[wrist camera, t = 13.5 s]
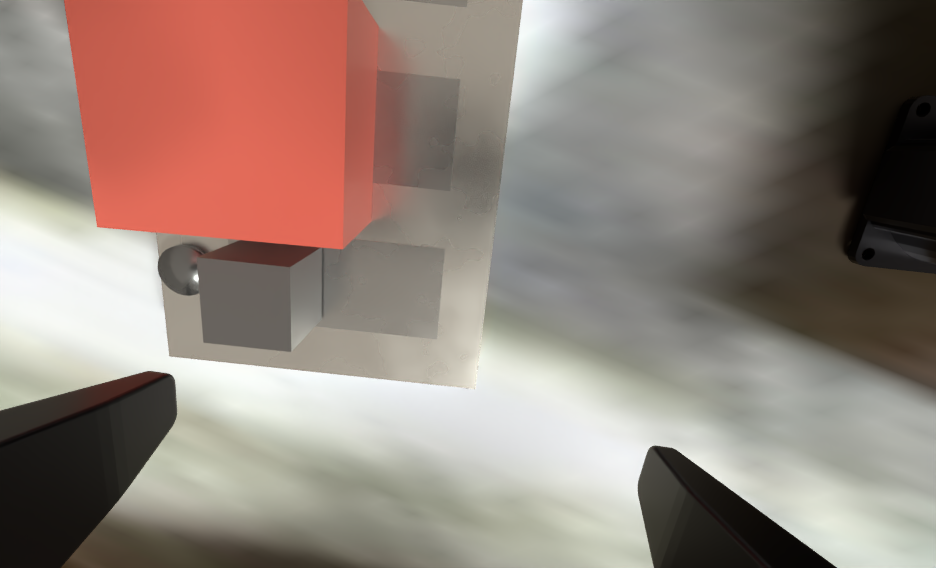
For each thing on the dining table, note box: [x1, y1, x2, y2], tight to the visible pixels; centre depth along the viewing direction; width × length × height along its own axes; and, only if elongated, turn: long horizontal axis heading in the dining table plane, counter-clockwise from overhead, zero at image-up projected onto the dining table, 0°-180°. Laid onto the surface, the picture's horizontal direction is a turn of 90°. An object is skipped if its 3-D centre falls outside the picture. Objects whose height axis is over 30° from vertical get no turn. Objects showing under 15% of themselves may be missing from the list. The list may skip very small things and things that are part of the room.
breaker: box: [197, 240, 322, 352], centre depth 16 cm, size 3×3×3 cm
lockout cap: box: [64, 0, 379, 249], centre depth 14 cm, size 7×7×5 cm
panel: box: [156, 0, 523, 389], centre depth 17 cm, size 13×20×2 cm, turn 174°
